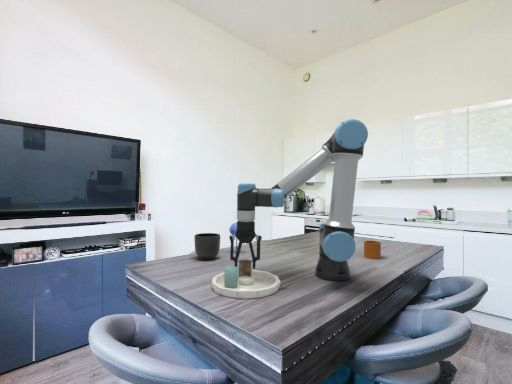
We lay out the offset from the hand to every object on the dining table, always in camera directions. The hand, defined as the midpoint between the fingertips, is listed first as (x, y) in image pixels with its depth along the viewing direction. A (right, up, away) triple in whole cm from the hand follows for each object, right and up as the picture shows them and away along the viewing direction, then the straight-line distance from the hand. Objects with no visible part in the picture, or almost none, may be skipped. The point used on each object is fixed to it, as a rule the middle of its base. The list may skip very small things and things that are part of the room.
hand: (244, 276), depth 114 cm
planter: (-22, -2, +36) cm, 43 cm away
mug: (+72, -3, +44) cm, 84 cm away
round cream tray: (+1, -2, -7) cm, 7 cm away
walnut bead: (0, 0, 0) cm, 0 cm away
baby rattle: (-7, -2, +51) cm, 52 cm away
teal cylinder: (-5, 0, -10) cm, 11 cm away
